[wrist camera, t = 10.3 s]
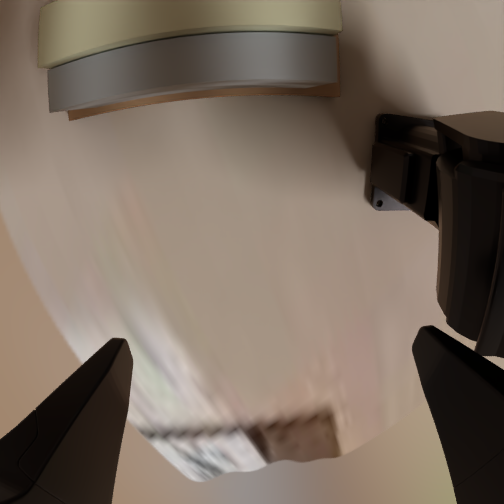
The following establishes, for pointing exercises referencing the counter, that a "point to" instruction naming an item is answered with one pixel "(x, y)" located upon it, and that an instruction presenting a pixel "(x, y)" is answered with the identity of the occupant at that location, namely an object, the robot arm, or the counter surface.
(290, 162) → the counter surface
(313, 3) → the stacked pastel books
